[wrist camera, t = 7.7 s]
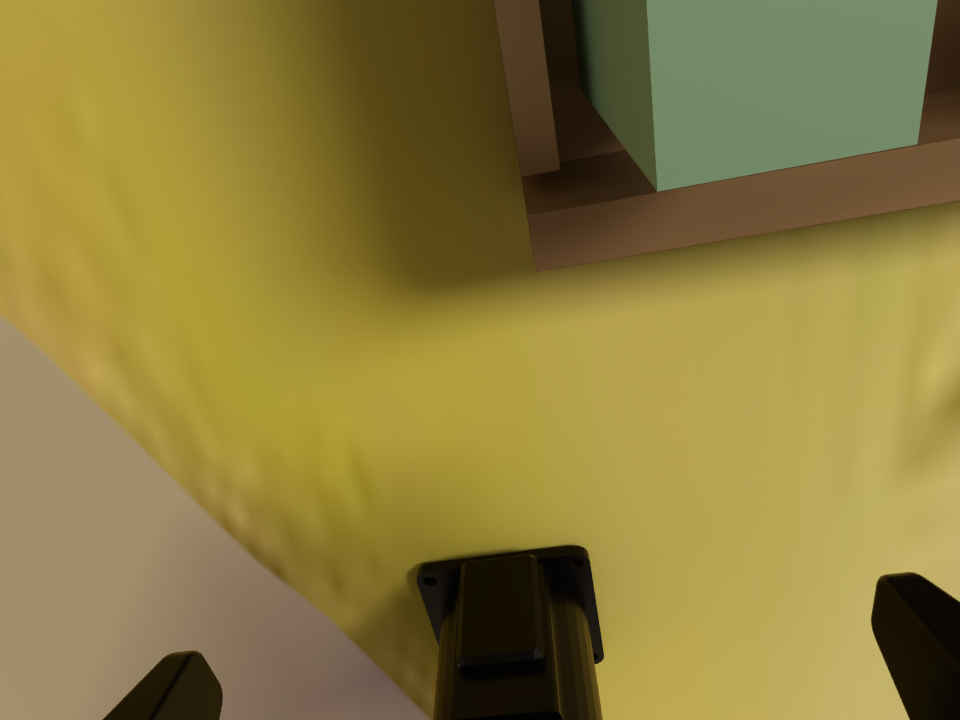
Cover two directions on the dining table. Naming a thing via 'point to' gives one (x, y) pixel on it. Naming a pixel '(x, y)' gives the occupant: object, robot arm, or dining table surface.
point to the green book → (753, 81)
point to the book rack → (703, 207)
